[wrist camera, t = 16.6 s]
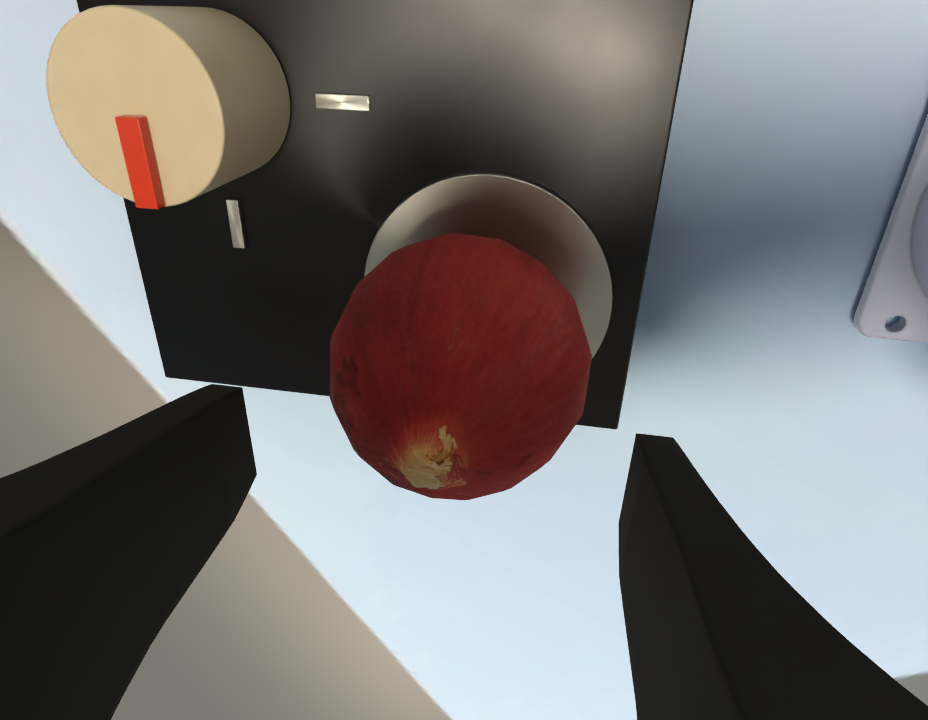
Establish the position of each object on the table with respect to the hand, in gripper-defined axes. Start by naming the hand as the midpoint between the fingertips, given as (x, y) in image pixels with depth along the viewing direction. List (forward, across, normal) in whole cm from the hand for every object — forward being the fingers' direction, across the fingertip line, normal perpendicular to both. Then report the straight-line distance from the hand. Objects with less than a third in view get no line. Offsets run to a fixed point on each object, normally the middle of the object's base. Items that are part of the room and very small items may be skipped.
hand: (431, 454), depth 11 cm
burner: (+7, 0, 0) cm, 7 cm away
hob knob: (+7, +7, -5) cm, 11 cm away
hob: (+10, +3, -2) cm, 11 cm away
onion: (+7, 0, 0) cm, 7 cm away
